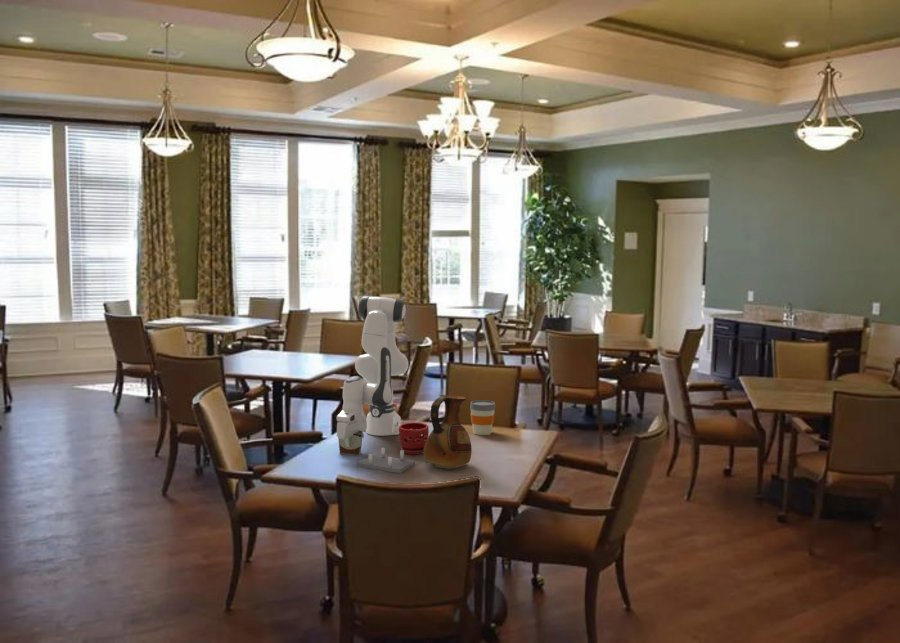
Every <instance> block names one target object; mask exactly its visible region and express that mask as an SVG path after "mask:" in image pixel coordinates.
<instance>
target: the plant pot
mask: <svg viewBox="0 0 900 643" xmlns="http://www.w3.org/2000/svg"><path fill="white" fill-rule="evenodd" d="M429 429H430V428H429V425H428V424H426V423H424V422H423V423H422V422H405V423H403V424H402V423H401V425H400V426H399V434H398V437H399V442H400V444H401V448H400V450H404V454H409V455H421V454H424V447H425V443H426V441H427V438H428V437H429V432H430V431H429Z"/></svg>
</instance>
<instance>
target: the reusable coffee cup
mask: <svg viewBox="0 0 900 643" xmlns="http://www.w3.org/2000/svg"><path fill="white" fill-rule="evenodd" d="M469 405H470V407H469V409H470V414H469V415H470V423H471V425H472V433H473V434H474V435H480V436H486V435H487V436H488V435H491V434H492V429H493V424H494V421H495V415H496V414H495V410H496V402H495V401H491V400H482V399H481V400H480V399H479V400H471V401H470V404H469Z"/></svg>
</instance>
